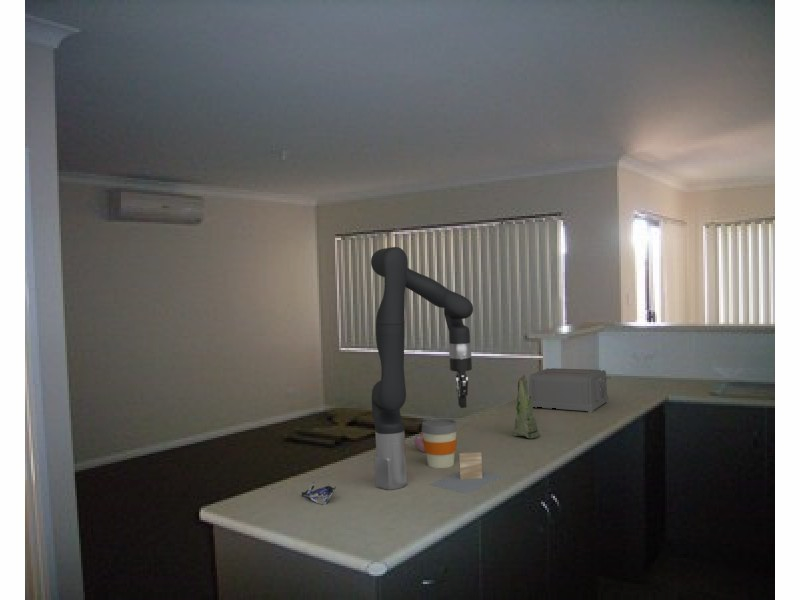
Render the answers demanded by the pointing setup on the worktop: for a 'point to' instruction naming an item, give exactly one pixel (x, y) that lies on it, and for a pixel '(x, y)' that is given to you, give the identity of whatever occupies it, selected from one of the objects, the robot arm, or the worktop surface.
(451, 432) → the reusable coffee cup
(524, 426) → the green rock spire
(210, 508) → the worktop surface
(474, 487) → the rubber mat
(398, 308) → the robot arm
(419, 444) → the video game controller
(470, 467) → the birch tile
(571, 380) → the toaster
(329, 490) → the snack package
